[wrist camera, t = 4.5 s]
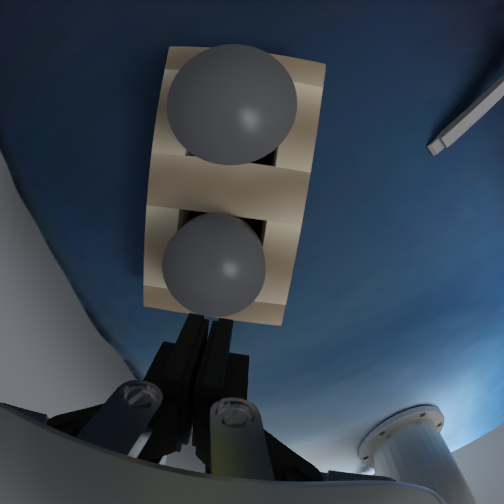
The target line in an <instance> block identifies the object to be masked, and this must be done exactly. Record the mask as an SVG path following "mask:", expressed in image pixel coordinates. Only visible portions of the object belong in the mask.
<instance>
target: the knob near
mask: <svg viewBox="0 0 504 504" xmlns="http://www.w3.org/2000/svg"><path fill="white" fill-rule="evenodd" d="M296 112H297V94H296V89H295V86H294V83H293V80H292V78H291V77H290V75H289V73H288V72H287V70H286V69H285V67H284V66H283V65H282V64H281V63H280V62H279V61H278V60H277V59H275V58H274V57H273V56H272V55H270V54H268V53H267V52H265V51H263V50H260V49H258V48H255V47H252V46H248V45H241V44H226V45H220V46H215V47H212V48H209V49H207V50H204V51H202V52H200V53H199V54H197V55H195V56H194V57H192V58H191V59H190V60H189V61H188V62H186V63H185V64H184V65H183V67H182V68H181V69H180V70H179V71H178V73H177V74H176V76H175V78H174V79H173V81H172V84H171V86H170V89H169V92H168V97H167V116H168V121H169V124H170V127H171V129H172V131H173V133H174V135H175V137H176V138H177V140H178V141H179V142H180V143H181V145H182V146H183V147H184V148H185V149H187V150H188V151H189V152H190V153H192V154H193V155H195V156H196V157H198V158H200V159H202V160H204V161H207V162H210V163H214V164H219V165H241V164H246V163H250V162H253V161H256V160H258V159H260V158H263V157H264V156H266V155H268V154H269V153H271V152H272V151H273V150H275V149H276V148H277V147H278V146H279V145H280V144H281V143H282V142H283V141H284V139H285V138H286V137H287V135H288V134H289V132H290V130H291V128H292V126H293V123H294V121H295V117H296Z"/></svg>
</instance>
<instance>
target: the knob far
mask: <svg viewBox="0 0 504 504" xmlns="http://www.w3.org/2000/svg"><path fill="white" fill-rule="evenodd" d="M162 272H163V278H164V281H165V284H166V286H167V288H168V290H169V292H170V293H171V295H172V296H173V297H174V298H175V299H176V300H177V301H178V302H179V303H180V304H181V305H182V306H183V307H185V308H186V309H188V310H190V311H192V312H194V313H196V314H200V315H204V316H207V317H225V316H230V315H233V314H236V313H238V312H240V311H242V310H244V309H245V308H247V307H248V306H249V305H250V304H251V303H252V302H253V301H254V300H255V299H256V298H257V297H258V295H259V293H260V292H261V290H262V287H263V285H264V281H265V274H266V267H265V258H264V251H263V247H262V244H261V242H260V239H259V237H258V236H257V234H256V233H255V231H254V230H253V229H252V228H251V227H250V225H249V224H248V222H247V221H246V220H245V219H244V218H243V217H237V216H232V215H229V214H224V213H207V214H202V215H199V216H197V217H195V218H193V219H191V220H190V221H188V222H187V223H186V224H184V225H183V226H182V227H181V228H180V229H179V230H178V231H177V232H176V233H175V234H174V236H173V237H172V238H171V239H170V241H169V242H168V244H167V246H166V248H165V251H164V254H163V259H162Z"/></svg>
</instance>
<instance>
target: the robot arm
mask: <svg viewBox="0 0 504 504" xmlns="http://www.w3.org/2000/svg"><path fill="white" fill-rule="evenodd" d="M208 327H209V320H207V319H204V315H200V314H194V313H189V315H188V317H187V319H186V322H185V324H184V326H183V328H182V330H181V333H180V335H179V337H178V339H177V341H176V343H170V342H163V343H162V345H161V347H160V349H159V350H158V352H157V354H156V356H155V358H154V360H153V362H152V364H151V366H150V368H149V370H148V372H147V374H146V376H145V378H144V380H132V381H128V382H125V383H123V384H122V385H120V386H119V387H118V388H117V389H116V391H115V392H114V393H113V394H112V395H111V396H110V397H109V399H108V400H107V401H106V402H105V403H104V404H100V405H97V406H93V407H89V408H85V409H82V410H77V411H73V412H69V413H65V414H61V415H57V416H54V417H52V418H51V419H50V418H48V416H47V415H46V414H42V413H38V412H34V411H30V410H26V409H23V408H19V407H15V406H12V405H9V404H5V403H1V402H0V504H477V503H476V501H475V499H474V497H473V495H472V493H471V491H470V489H469V487H468V485H467V483H466V481H465V479H464V477H463V475H462V473H461V471H460V469H459V468H458V465H457V464H456V462H455V460H454V458H453V456H452V454H451V452H450V450H449V449H448V447H447V445H446V443H445V441H444V440H443V438H442V436H441V434H440V432H441V430H442V427H443V425H444V416H443V414H442V413H441V411H440V410H439V409H438V408H436V407H434V406H419V407H415V408H411V409H408V410H406V411H403V412H401V413H399V414H396V415H395V416H393V417H391V418H389V419H387V420H386V421H384V422H383V423H381V424H380V425H379V426H377V427H376V428H375V429H374V430H372V431H371V432H370V433H369V434H368V435H367V436H366V438H365V439H364V440H363V442H362V443H361V445H360V447H359V457H360V459H361V462H362V463H363V464H364V465H366V466H369V467H374V470H375V473H374V475H362V474H353V473H345V472H337V471H330V470H329V471H328V473H323V472H320V471H319V470H318V469H317V468H316V467H315V466H313V465H312V464H311V463H309V462H308V461H306V460H305V459H303V458H302V457H300V456H299V455H298V454H296V453H295V452H293V451H292V450H291V449H289V448H288V447H287V446H285V445H284V444H283V443H281V442H280V441H279V440H277V439H276V438H275V437H273V436H272V435H271V434H269V433H268V432H267V431H266V430H264V429H263V425H262V420H261V415H260V412H259V410H258V408H257V407H256V406H255V405H254V404H252V403H251V402H249V401H247V387H248V369H249V355H242V354H235V353H229V350H230V342H231V335H232V328H233V320H232V319H225V318H219V321H213V323H212V326H211V329H210V333H209V336H208ZM207 338H208V340H207ZM192 426H193V436H192V446H196V456H197V457H198V458H199V459H200V460H201V461H202V462H203V463H204V464H205V473H200V472H194V471H188V470H184V469H179V468H174V467H169V466H165V465H164V464H165V462H166V459H167V455H168V454H170V453H173V452H175V451H178V452H180V450H181V446H182V444H185V445H187V444H188V442H189V438H190V434H191V430H192Z"/></svg>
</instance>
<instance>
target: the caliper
mask: <svg viewBox="0 0 504 504" xmlns="http://www.w3.org/2000/svg"><path fill="white" fill-rule="evenodd" d="M503 74H504V71H503ZM503 96H504V75H502V76H501V77H500V78H499V79H498V80H497V81H496V82H495V83H494V84H493V85H492V86H491V87H490V88H489V89H487V90H486V91H485V92H484V93H483V94H482V95H481V96H480V97H479V98H478V99H477V100H475V101H474V102H473V103H472V104H471V105H470V106H469V107H468V108H467V109H465V110H464V111H463V112H462V113H461V114H460V115H459V116H458V117H457V118H455V119H454V120H453V121H452V122H451V123H450V124H449V125H447V126H446V127H445V128H444V129H443V130H442V131H441V132H440V133H439V134H438V135H437V136H436V139H435V140H433V141H432V142H431V143H430V144H429V145H428V146H427V148H428V149H429V151H430V152H431V154H432V155H433V156H434V155H436V154H438V153H439V152H440V151H441V150H442V149H443V148H444V147H445V148H448V147H449V146H450V145H451V144H452V143H453V142H455V141H456V140H457V139H458V138H459V137H460V136H461V135H462V134H463V133H464V132H466V131H467V130H468V129H469V128H470V127H471V126H472V125H473V124H474V123H475V122H476V121H477V120H479V119H480V118H481V117H482V116H483V115H484V114H485V113H486V112H487V111H488V110H489V109H490V108H491V107H492V106H493V105H494V104H495V103H496V102H497V101H499V100H500V99H501V98H502V97H503Z"/></svg>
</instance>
